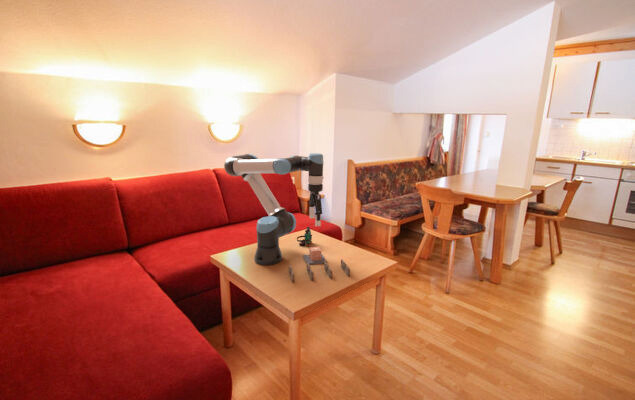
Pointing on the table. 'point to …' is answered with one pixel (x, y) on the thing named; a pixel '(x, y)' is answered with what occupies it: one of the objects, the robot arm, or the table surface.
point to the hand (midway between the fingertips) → (314, 222)
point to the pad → (308, 260)
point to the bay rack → (326, 267)
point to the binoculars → (306, 238)
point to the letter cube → (314, 253)
